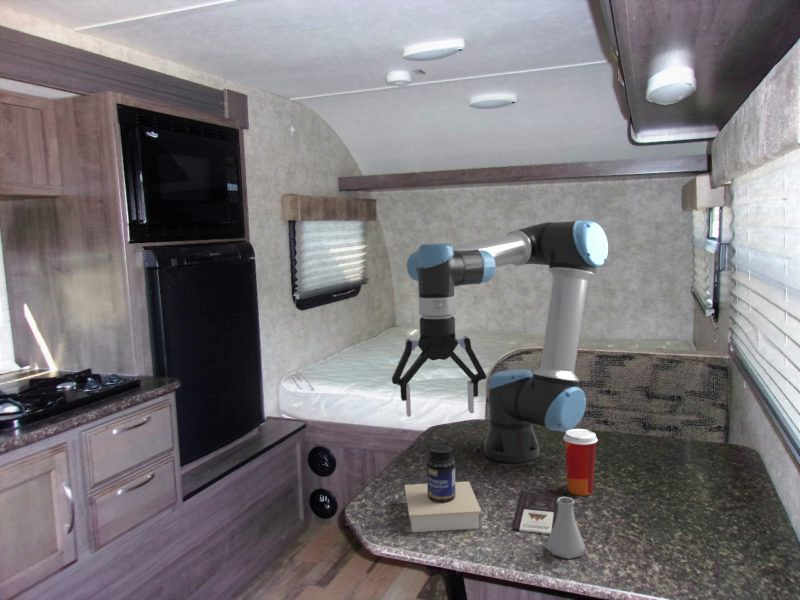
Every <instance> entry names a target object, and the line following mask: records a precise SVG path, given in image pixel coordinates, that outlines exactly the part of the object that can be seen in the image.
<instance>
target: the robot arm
mask: <svg viewBox="0 0 800 600" xmlns="http://www.w3.org/2000/svg"><path fill="white" fill-rule="evenodd" d="M608 254H609V242H608V239H607V235H606V233H605V231H604V229H603V227H601V225H599V224H598V223H597V222H594V221H591V220H590V221H589V220H574V221H556V222H555V221H553V222H552V221H551V222H550V221H549V222H542V223H538V224H534V225H531V226H526V227H523V228H519V229H515V230H511V231H509V232H508V233H507V234H506V235H504V236H499V237H494V238H488V239H482V240H478V241H473V242H466V243H462V244H456V245H453V244H452V243H448V242H447V243H443V242H442V243H441V242H439V243H424V244H423V243H422V244H420V245H419V246H418V249H417V250H416V251H414V252H412V253H411V254H410V255H409V257H408V258H407V262H406V270H407V274H408V276H409V277H410V278H411V279H412V280H414V281H416V282H417V283H418V284H417V285H418V310H419V311H418V313H419V315H420V316H421V317H420V318H419V339H418V340H414V339H413V340H411V339H410V338H407V339H406V340H405V346H404V351H403V352H402V355H401V357H400V359H399V361H398V363H397V366H396V368H395V370H394V372H393V374H392V376H391V382H392V384H393V385H398V386H399V387H400V399H401V401H402V402H405V404H406V405H405V406H406V407H405V408H406V409H405V410H406V412H405V413H406V416H407V418H410V417H412V410H411V385H410V384H409V383H410V381H411V379H413V377H414V376H415V375H416V374H417V372H418V371H419V370H420V369H421V368H422V366H423V365H424V364H425V363H426V362H427V360H431V361H437V360H442V361H443V360H444V361H446V360H447V359H448V358H450V359H452V361H453V362H454V363H455V364H456V366H458V367H459V368H460V369H461V371H462V372H463V373H465V375H466V376H467V377H468V378H469V379H470V380H467V410H468V412H469V413H470V414H474V413H475V410H474V409H475V407H474V402H475V401H474V399H475V397H477V398H478V396H479V383H480V381H482V380H486V379H487V374H486V373H485V371H484V368H483V366H482V365H481V363H480V361H479V359H478V358H477V356H476V354H475V352H474V351H473V348H472V343H471V339H470V338H469V337H468V336H467V335H465V336H463V337H461V338H460V337H459V338H457V337H456V318H455V317H454V316H453V315H454V314H455V312H456V311H455V287H457V286H458V287H459V286H466V285H469V286H470V285H481V284H484V283H487V282H490V281H491V280H492V279H493V278H494V276H495V274H496V268H498V267H502V266H503V267H504V266H507V265H511V264H512V265H514V266H523V265H542V266H549V267H548V271H549V272H550V274H551V275H552V286H551V293H550V299H549V307H548V313H547V319H546V326H545V332H544V340H543V347H542V354H541V360H540V366H539V368H537V369H536V370H535V371H533V373H532V371H531V370H529V369H509V370H501V371H498V372H495V373H493V374H491V375H490V377H489V381H488V382H489V383H488V397H489V427H488V430H487V433H486V437H485V440H484V443H483V454H484V456H486V457H488V458H489V459H491V460H494V461H496V462H497V461H498V462H503V463H510V464H511V463H512V464H513V463H526V462H531V461H533V460H535V459H537V458H538V457H539V456H540V445H539V441H538V439H537V436H536V432H535V430H534V426H533V425H535V426H540V427H543V428H546V429H548V430H550V431H557V432H565V433H566V431H568V430H571V429H575V428H576V426H577V425H578V424H579V423H580V422H581V420H582V418H583V416H584V414H585V411H586V407H587V398H586V394H585V391H584V390H582V389H581V388H580V387H579V385H580V379H579V378H578V377H577V375H576V374H575V373H576V372H575V370H576V369H575V368H576V363H577V356H578V348H579V342H580V335H581V329H582V323H583V315H584V307H585V301H586V294H587V289H588V281H589V280H591V279H592V278H593V277H595V274H596V268H599V267H601V266H603V265H604V264H605V261H606V260H607V258H608ZM458 345H460V347H461V348H462V349H464V350H465V353H466V354H467V355H468V359H470V361H471V363H472V365H473V367H474V370H475V371H476V374H474V373H473V372H472V370H471V369H470V367H468V366H467V365H466V364H465V362H463V361H462V359H461V358H460V357H459V356H458V355H457V354H456V353H455V352H454V351H455V349H456V348H457V347H458ZM417 347H418V348H419V349H420V350H421V353H420V354H419V355H418V357H417V358H416V360H415V361H414V362H413V363H412V365H411V366H410V367H409V368H408V369H407V371H406V372H405V373H404V375H403V371H404V370H405V368H406V365H407V364H408V361H409V359H410V357H411V355H412V352H413V351H415V350H416V348H417ZM402 375H403V376H402ZM401 376H402V377H401Z"/></svg>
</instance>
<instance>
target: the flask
mask: <svg viewBox="0 0 800 600" xmlns="http://www.w3.org/2000/svg"><path fill="white" fill-rule="evenodd" d="M557 503H558V514H557V519H556V522H555V524H554V527H553V530H552V532H551V535H549V538H548V540H547V542H546V545H545V549H546V550H547V551H549V552H550V553H551V554H552V555H554V556H557V557H560V558H564V559H567V560H571V559H574V558H578V557H582V556H583V555H584V553H585V552H586V550H587V547H586V545H585V543H584V540H583V537H582V535H581V532H580V530H579V527H578V524H577V522H576V518H575V513H574V504H575V503H576V501H575V500H574V499H573V498H572V497H568V496H562V497H559V498H558V499H557Z"/></svg>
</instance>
